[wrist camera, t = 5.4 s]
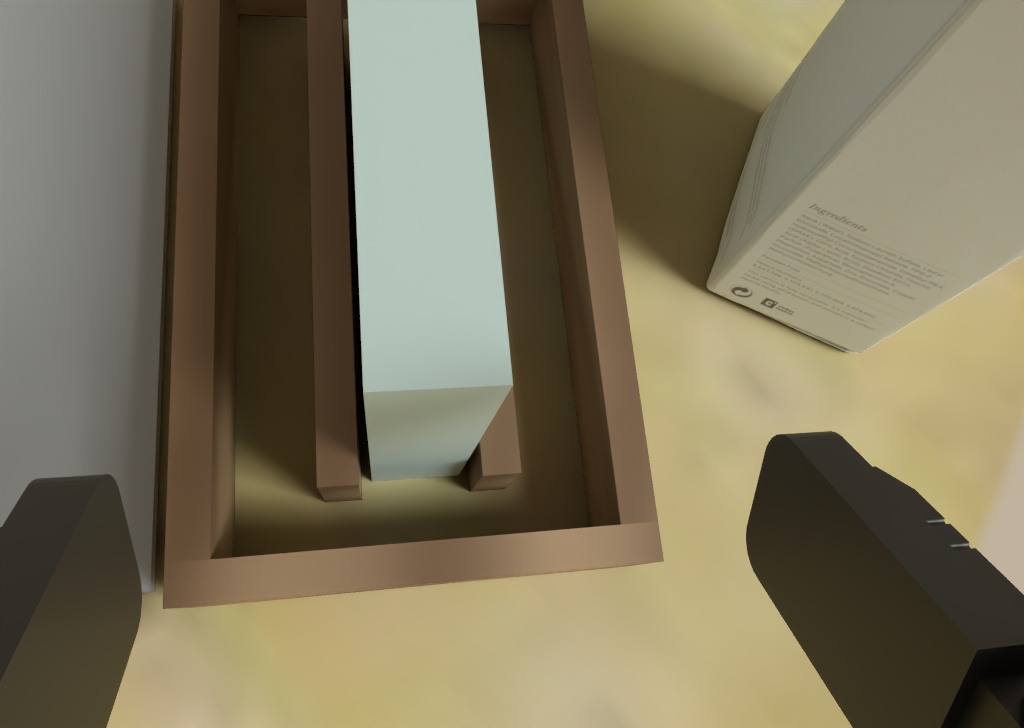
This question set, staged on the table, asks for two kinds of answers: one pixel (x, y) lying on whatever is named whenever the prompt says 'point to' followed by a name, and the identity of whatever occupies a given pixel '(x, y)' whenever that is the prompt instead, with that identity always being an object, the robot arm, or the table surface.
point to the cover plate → (425, 236)
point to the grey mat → (85, 247)
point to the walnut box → (212, 330)
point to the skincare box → (883, 171)
